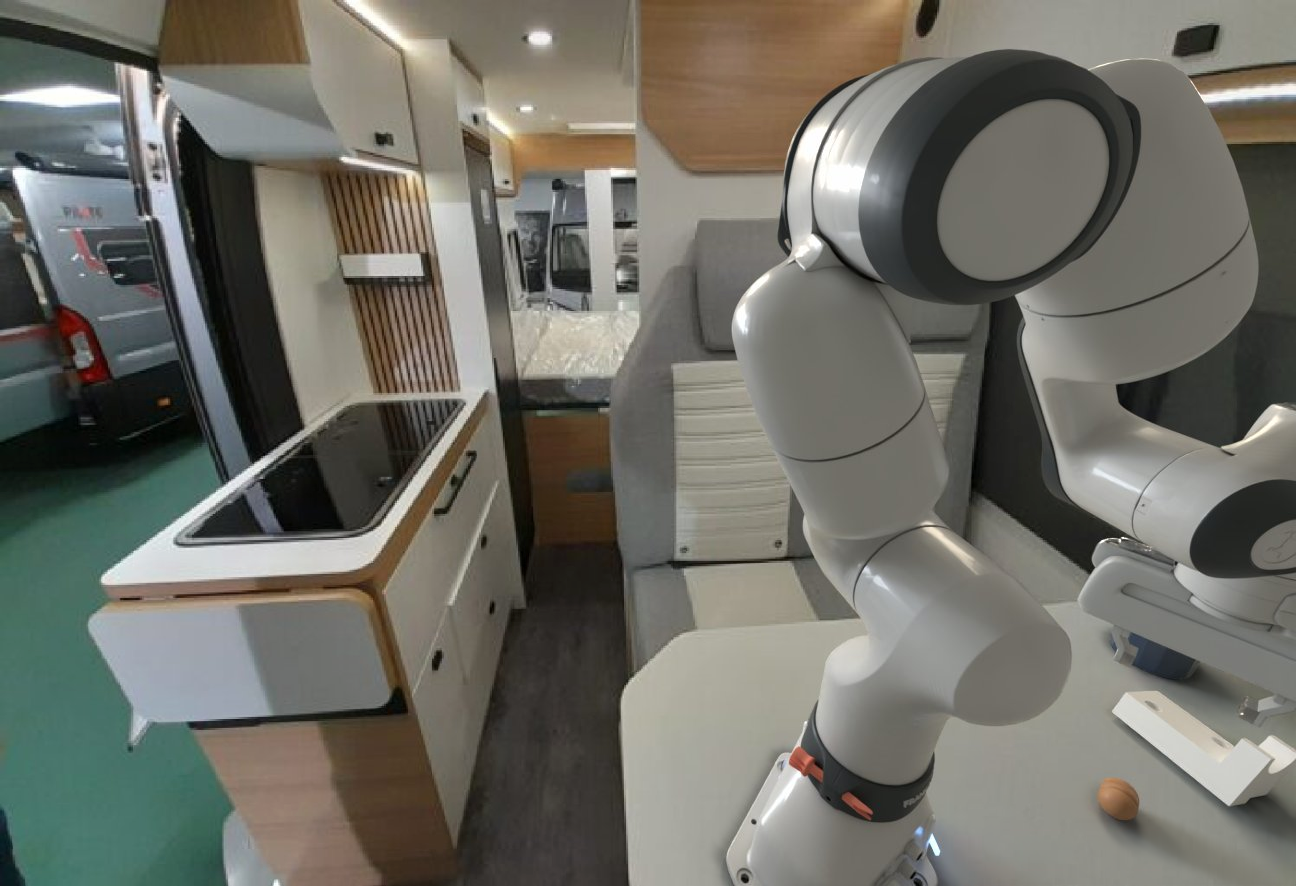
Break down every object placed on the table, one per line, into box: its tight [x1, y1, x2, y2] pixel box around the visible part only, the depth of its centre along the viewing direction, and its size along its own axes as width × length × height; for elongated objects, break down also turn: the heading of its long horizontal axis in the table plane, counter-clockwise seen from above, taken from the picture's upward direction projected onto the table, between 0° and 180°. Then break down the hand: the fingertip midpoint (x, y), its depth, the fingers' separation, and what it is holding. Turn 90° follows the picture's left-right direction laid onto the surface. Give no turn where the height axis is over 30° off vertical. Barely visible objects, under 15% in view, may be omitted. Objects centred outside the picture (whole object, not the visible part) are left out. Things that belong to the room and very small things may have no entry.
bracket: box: [1111, 690, 1296, 807], centre depth 67 cm, size 13×7×8 cm, turn 16°
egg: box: [1097, 777, 1140, 821], centre depth 61 cm, size 5×3×3 cm
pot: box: [1108, 632, 1201, 680], centre depth 82 cm, size 10×10×8 cm
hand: (1181, 688), depth 54 cm, fingers open, 8 cm apart
